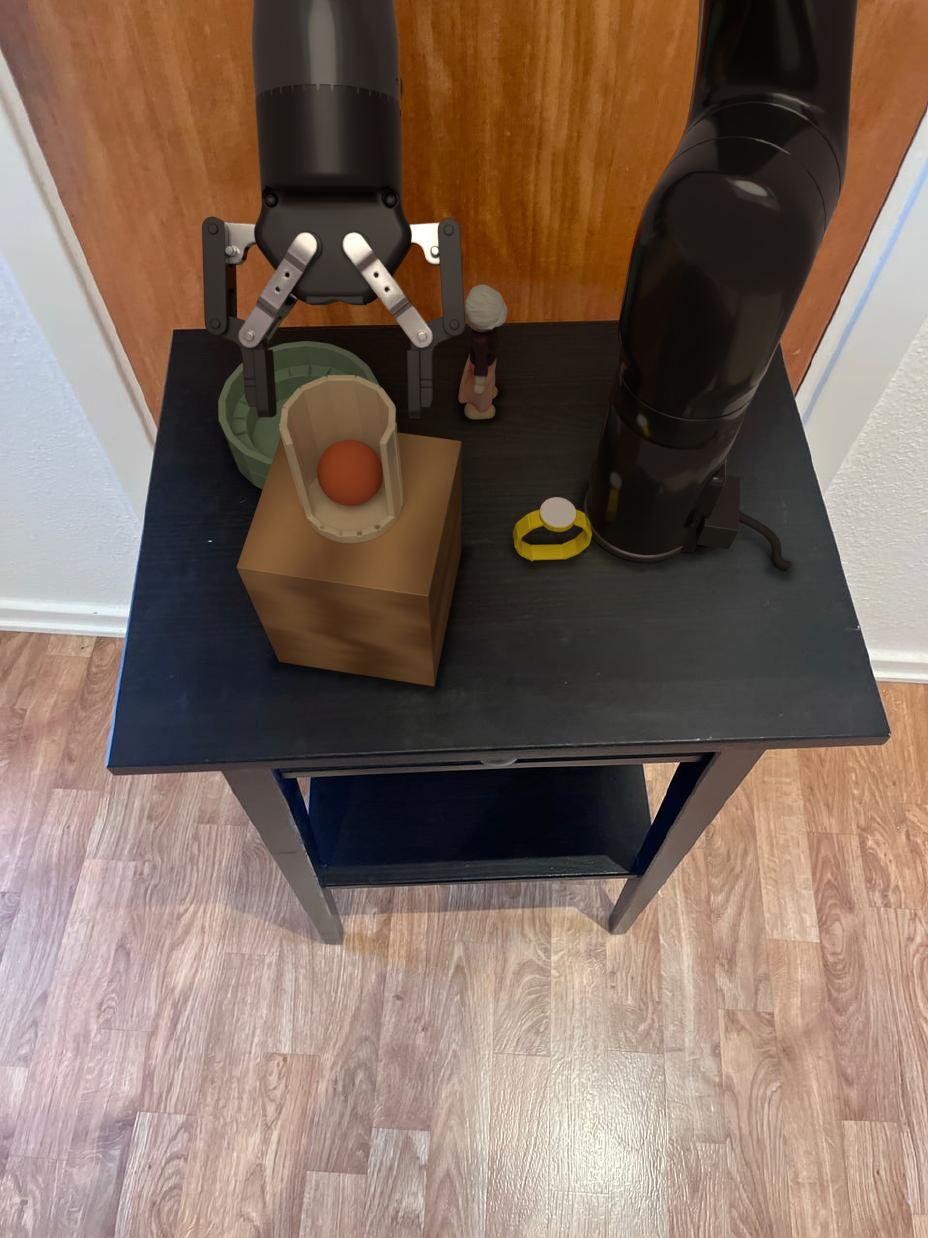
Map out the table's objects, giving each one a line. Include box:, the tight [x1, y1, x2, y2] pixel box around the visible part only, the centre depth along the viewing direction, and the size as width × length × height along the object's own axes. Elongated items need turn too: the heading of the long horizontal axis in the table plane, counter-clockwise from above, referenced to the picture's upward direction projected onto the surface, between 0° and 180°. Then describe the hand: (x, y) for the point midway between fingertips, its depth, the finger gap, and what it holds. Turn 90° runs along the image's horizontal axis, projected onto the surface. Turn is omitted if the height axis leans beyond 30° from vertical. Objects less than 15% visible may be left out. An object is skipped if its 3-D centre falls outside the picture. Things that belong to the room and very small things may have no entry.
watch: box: [512, 496, 593, 562], centre depth 67 cm, size 6×3×6 cm, turn 95°
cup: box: [279, 375, 404, 544], centre depth 51 cm, size 6×6×8 cm
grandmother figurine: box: [457, 284, 509, 420], centre depth 71 cm, size 8×4×13 cm, turn 2°
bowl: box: [217, 340, 380, 490], centre depth 73 cm, size 13×13×5 cm
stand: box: [236, 432, 463, 687], centre depth 61 cm, size 12×12×14 cm
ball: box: [317, 440, 383, 506], centre depth 53 cm, size 4×4×4 cm
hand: (341, 416), depth 50 cm, fingers open, 8 cm apart
